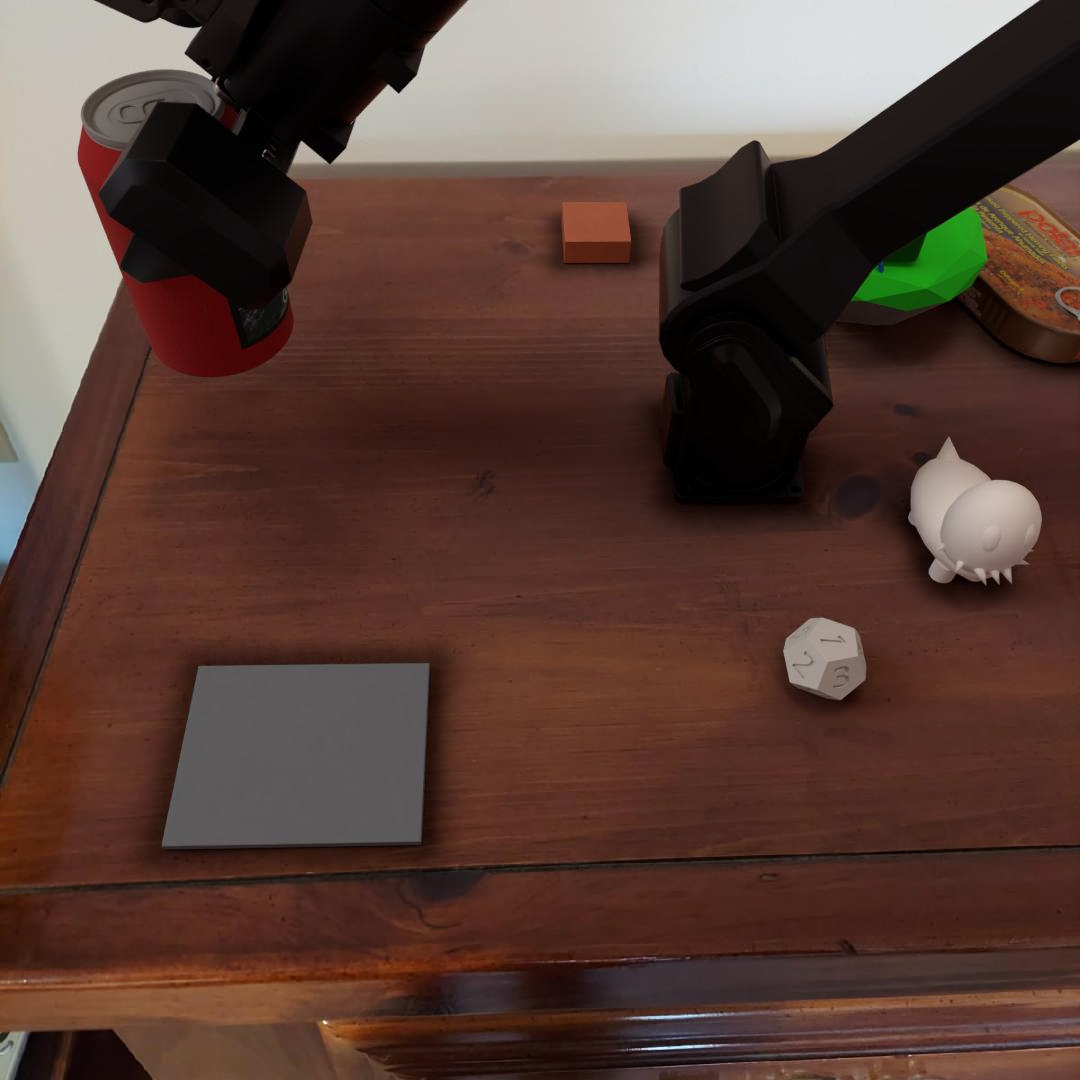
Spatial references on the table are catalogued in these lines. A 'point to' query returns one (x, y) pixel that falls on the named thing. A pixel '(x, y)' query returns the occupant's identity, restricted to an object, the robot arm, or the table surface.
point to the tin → (1028, 276)
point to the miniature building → (921, 273)
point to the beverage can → (184, 302)
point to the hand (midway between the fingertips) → (158, 221)
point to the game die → (825, 658)
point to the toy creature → (972, 519)
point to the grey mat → (302, 757)
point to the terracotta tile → (595, 232)
